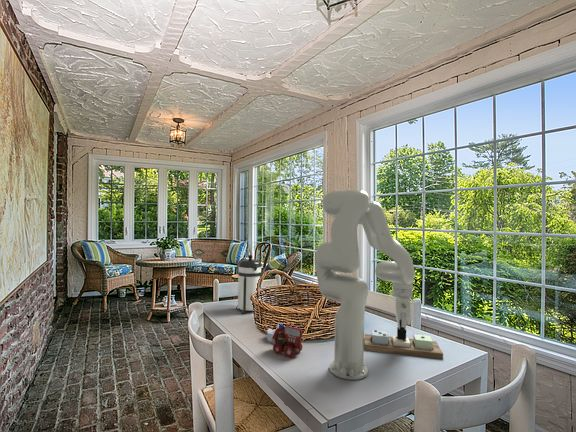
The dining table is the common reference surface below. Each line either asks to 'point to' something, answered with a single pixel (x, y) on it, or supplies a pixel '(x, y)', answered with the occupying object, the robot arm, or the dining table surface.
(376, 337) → the pale blue drawer
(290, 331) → the toy fire truck
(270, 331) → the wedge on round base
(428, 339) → the pale green drawer
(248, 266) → the coffee press
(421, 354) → the wooden compartment tray
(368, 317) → the dining table surface
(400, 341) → the cream drawer
